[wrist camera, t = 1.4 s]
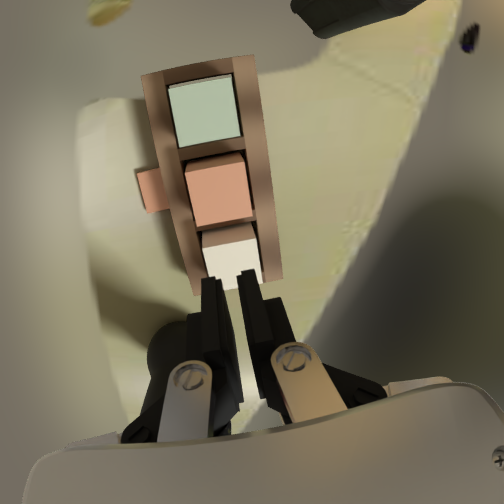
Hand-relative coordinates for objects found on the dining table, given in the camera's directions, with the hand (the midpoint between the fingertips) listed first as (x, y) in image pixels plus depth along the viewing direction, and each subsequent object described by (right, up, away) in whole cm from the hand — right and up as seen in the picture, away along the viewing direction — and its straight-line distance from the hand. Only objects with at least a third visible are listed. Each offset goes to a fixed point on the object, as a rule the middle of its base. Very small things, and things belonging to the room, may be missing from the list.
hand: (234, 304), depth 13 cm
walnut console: (-3, +9, +17) cm, 19 cm away
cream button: (-1, +3, +19) cm, 19 cm away
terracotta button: (-2, +8, +15) cm, 18 cm away
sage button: (-3, +14, +12) cm, 19 cm away
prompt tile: (-8, +8, +16) cm, 20 cm away
